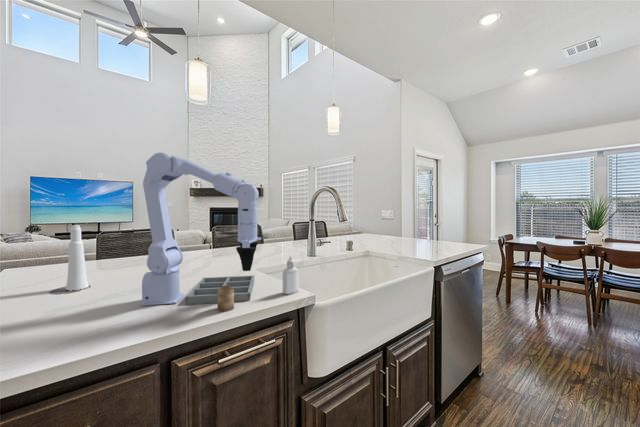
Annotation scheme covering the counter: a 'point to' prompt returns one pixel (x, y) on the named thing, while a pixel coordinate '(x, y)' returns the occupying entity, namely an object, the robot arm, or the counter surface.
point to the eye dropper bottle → (290, 278)
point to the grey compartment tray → (211, 285)
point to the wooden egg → (225, 298)
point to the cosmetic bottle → (76, 262)
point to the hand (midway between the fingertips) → (247, 267)
